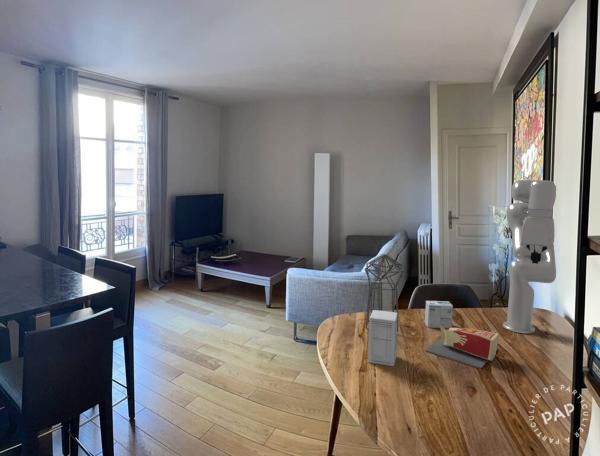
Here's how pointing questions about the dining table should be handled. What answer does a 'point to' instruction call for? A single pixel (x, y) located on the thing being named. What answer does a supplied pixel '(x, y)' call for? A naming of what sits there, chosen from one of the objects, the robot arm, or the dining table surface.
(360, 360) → the dining table surface
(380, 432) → the dining table surface
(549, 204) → the robot arm
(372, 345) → the supplement box
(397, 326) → the geometric lantern
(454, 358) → the mat
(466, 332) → the milk carton
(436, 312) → the light bulb box
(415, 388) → the dining table surface
